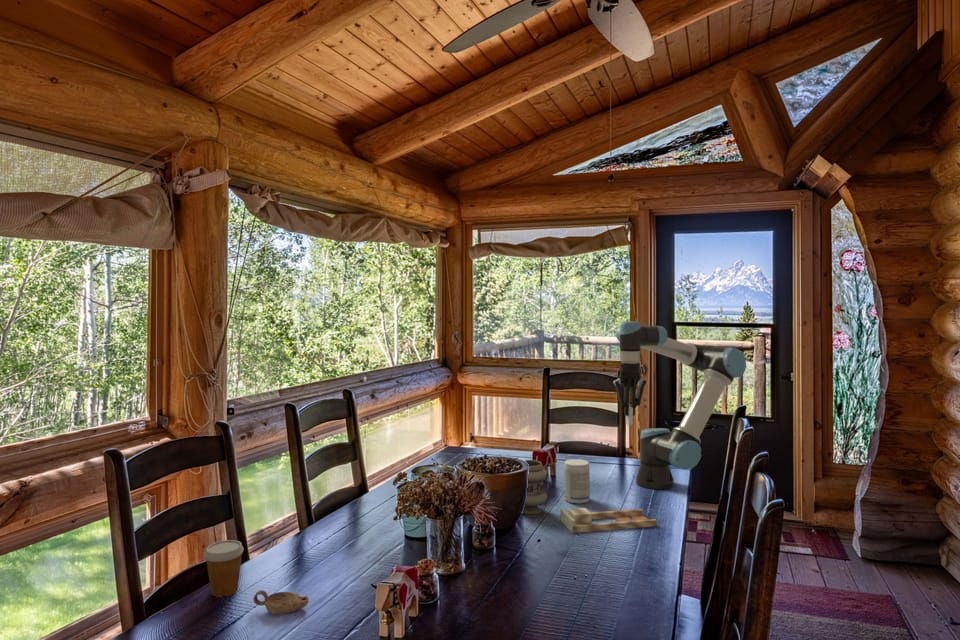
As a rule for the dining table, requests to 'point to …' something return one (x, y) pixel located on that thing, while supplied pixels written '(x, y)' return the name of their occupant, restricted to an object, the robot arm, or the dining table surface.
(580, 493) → the supplement tub
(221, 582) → the disposable coffee cup
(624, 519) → the trap pads
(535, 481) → the apothecary jar
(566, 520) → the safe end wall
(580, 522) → the birch block
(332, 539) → the dining table surface
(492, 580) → the dining table surface
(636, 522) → the channel rails
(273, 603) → the oil lamp
